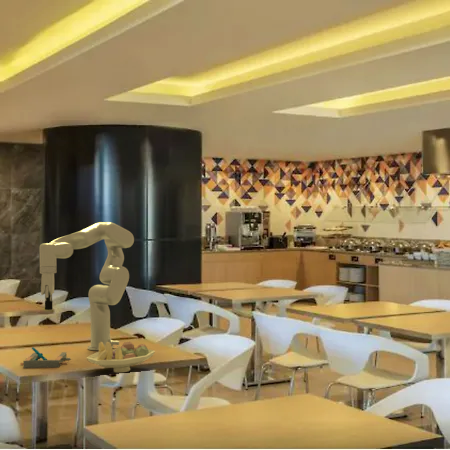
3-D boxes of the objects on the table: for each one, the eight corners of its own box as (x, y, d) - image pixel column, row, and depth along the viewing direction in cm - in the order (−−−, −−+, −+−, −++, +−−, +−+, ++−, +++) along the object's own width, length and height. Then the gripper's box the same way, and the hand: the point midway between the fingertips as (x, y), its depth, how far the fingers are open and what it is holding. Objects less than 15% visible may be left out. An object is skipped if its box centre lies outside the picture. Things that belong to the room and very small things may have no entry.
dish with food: (80, 377, 302) (80, 342, 302) (94, 364, 330) (94, 332, 330) (149, 378, 301) (149, 342, 301) (158, 365, 329) (158, 332, 329)
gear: (50, 361, 328) (33, 346, 328) (40, 372, 327) (23, 356, 327) (50, 360, 339) (34, 345, 339) (41, 370, 338) (25, 355, 337)
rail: (71, 357, 349) (71, 350, 349) (64, 367, 325) (64, 360, 325) (28, 358, 347) (28, 351, 347) (17, 368, 323) (17, 361, 323)
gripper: (42, 269, 354) (42, 307, 354) (37, 271, 339) (38, 311, 340) (58, 268, 355) (59, 307, 355) (54, 271, 340) (54, 311, 340)
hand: (48, 309), depth 347 cm, fingers closed
